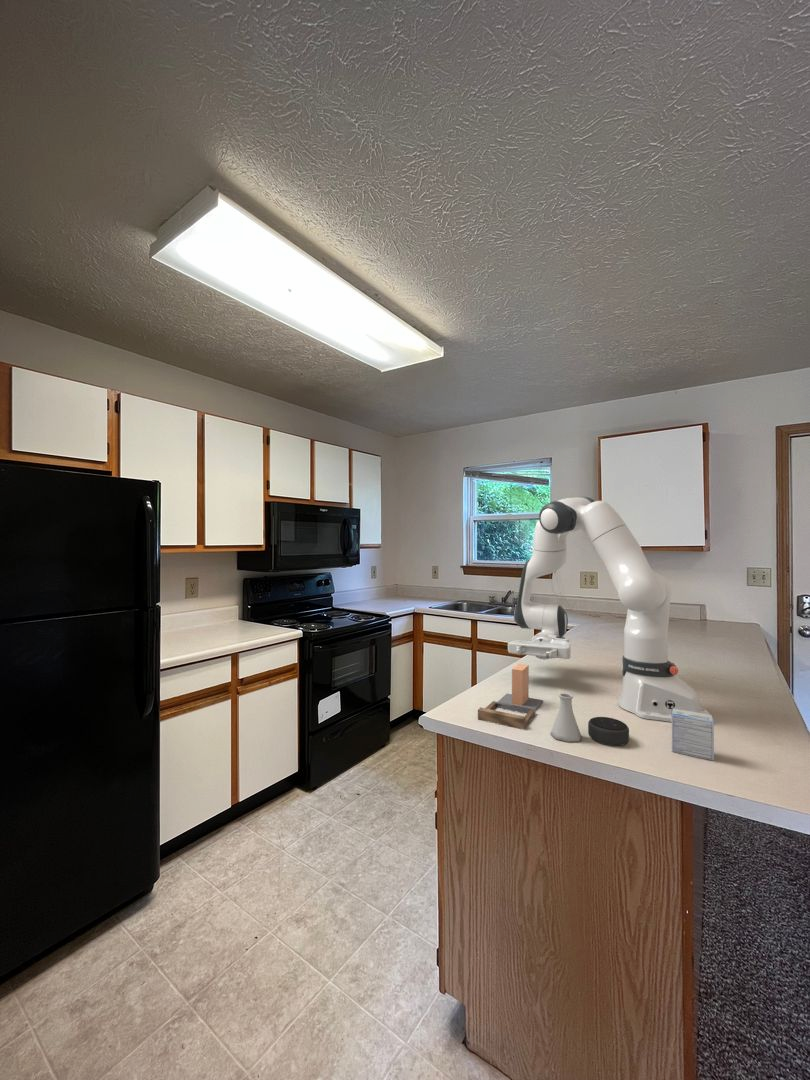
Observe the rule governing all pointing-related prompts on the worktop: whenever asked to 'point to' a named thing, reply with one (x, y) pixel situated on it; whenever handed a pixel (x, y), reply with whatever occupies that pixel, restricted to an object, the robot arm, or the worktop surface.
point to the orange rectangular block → (520, 684)
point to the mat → (529, 703)
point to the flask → (566, 721)
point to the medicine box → (693, 734)
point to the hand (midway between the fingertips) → (533, 653)
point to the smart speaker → (608, 731)
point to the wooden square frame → (506, 715)
